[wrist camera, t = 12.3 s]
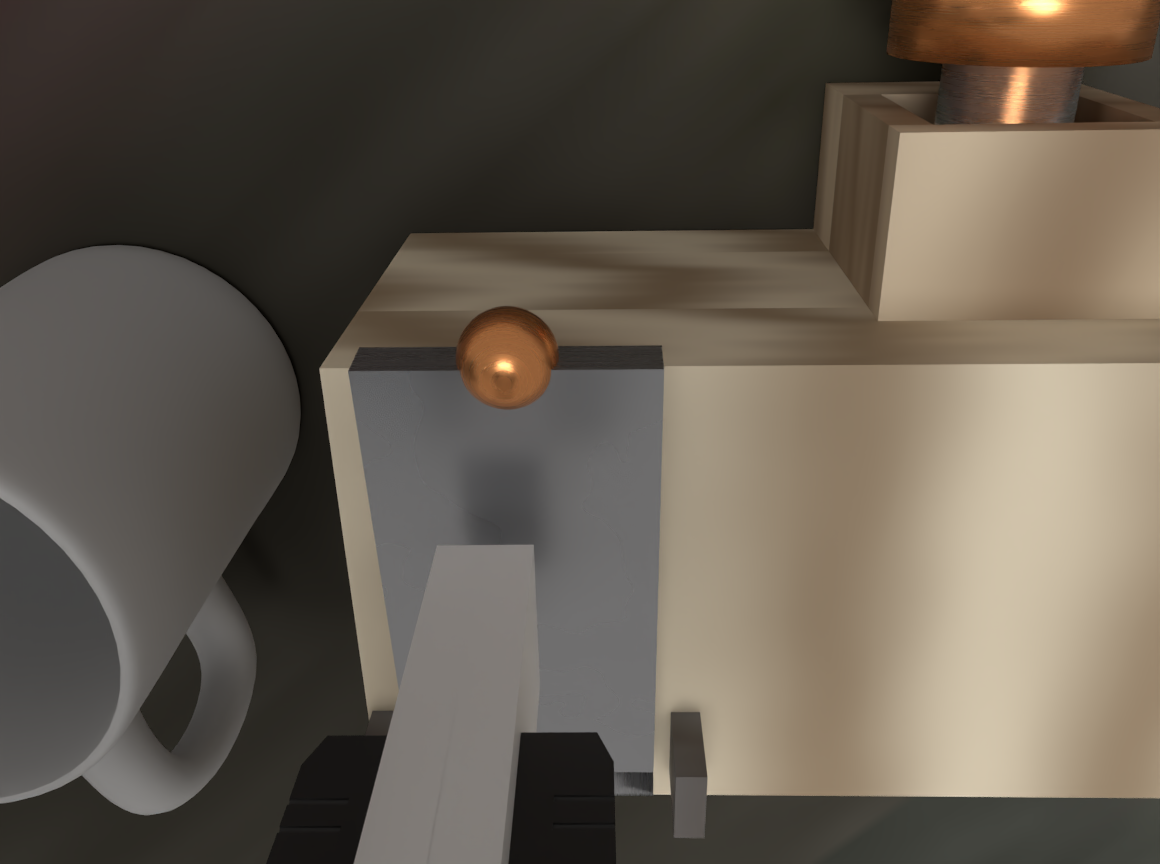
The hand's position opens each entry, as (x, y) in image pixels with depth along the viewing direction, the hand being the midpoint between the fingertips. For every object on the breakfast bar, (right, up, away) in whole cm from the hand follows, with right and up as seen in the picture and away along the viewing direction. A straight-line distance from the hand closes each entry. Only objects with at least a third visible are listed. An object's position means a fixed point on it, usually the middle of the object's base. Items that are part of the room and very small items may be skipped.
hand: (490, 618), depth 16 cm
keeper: (0, +1, +3) cm, 3 cm away
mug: (-10, +3, +13) cm, 16 cm away
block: (+6, +5, +11) cm, 14 cm away
